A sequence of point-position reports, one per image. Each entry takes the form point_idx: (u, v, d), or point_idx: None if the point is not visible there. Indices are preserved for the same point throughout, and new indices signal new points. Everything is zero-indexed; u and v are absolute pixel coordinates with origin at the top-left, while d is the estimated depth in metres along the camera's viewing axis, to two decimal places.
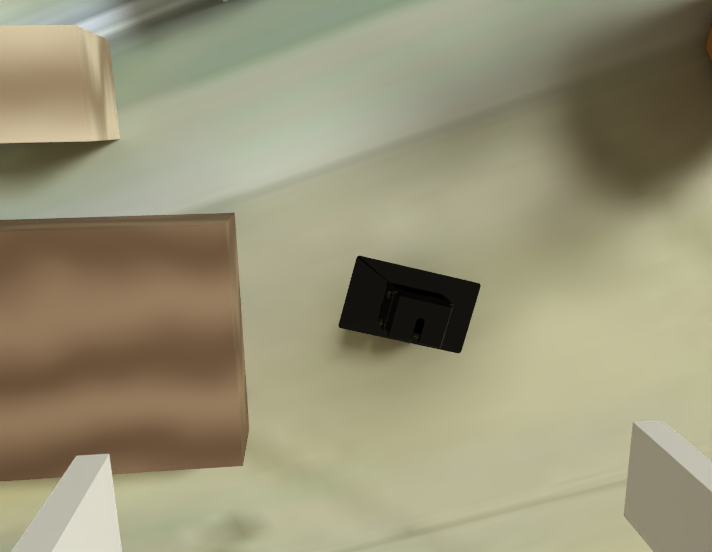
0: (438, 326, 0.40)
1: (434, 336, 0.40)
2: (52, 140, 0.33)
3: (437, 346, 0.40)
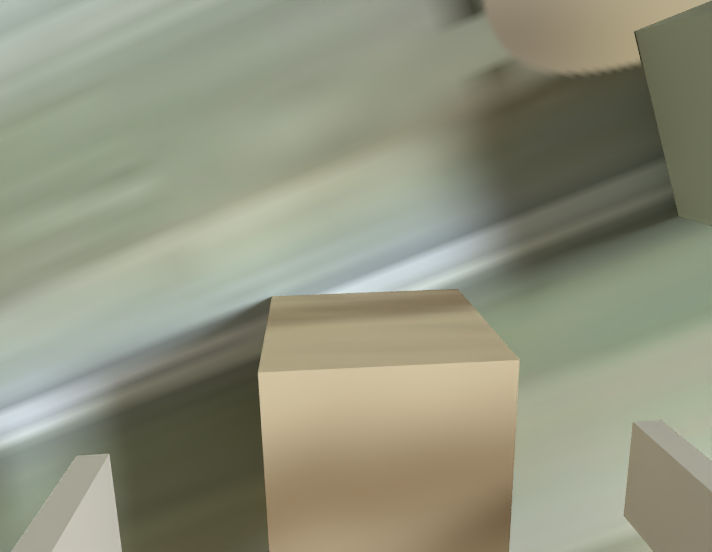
0: None
1: None
2: None
3: None
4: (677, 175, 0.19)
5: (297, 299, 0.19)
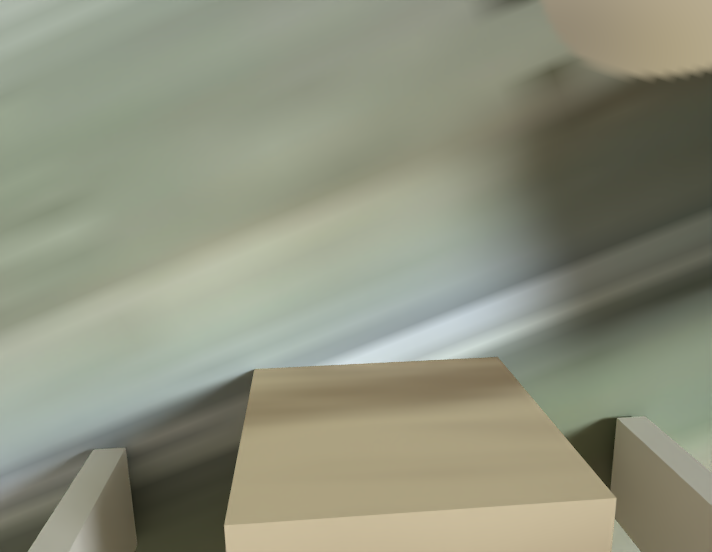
0: None
1: None
2: None
3: None
4: None
5: (287, 374, 0.14)
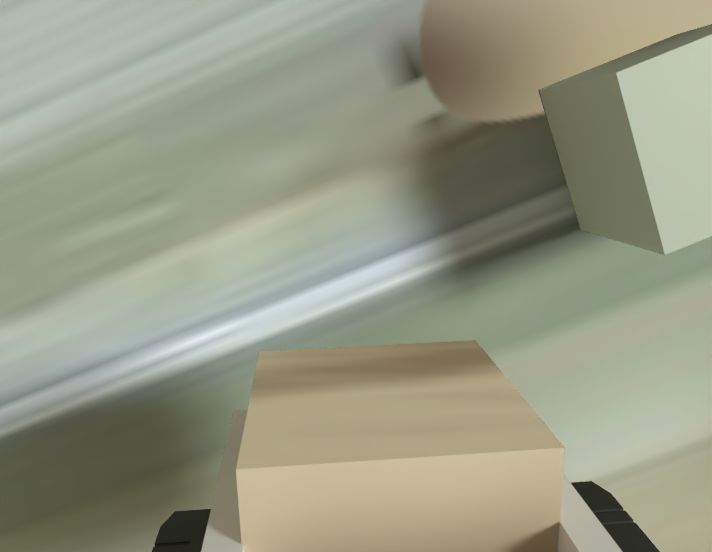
0: None
1: None
2: None
3: None
4: (576, 197, 0.25)
5: (288, 356, 0.16)
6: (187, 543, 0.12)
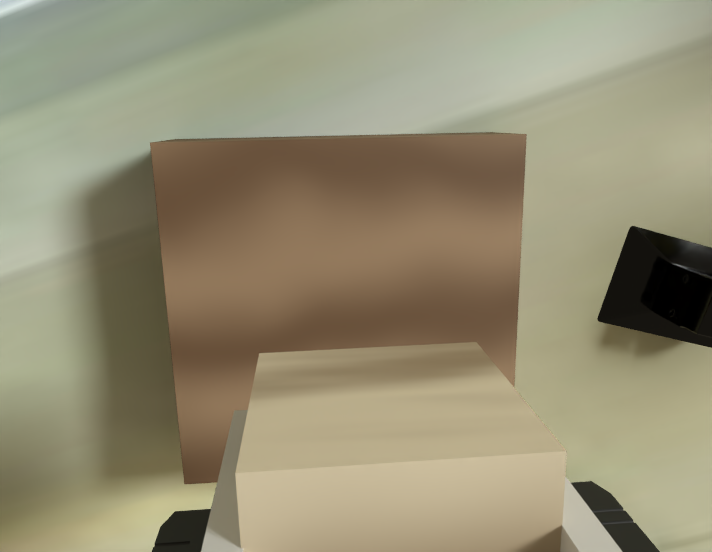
0: None
1: None
2: None
3: None
4: None
5: (288, 358, 0.16)
6: (187, 543, 0.12)
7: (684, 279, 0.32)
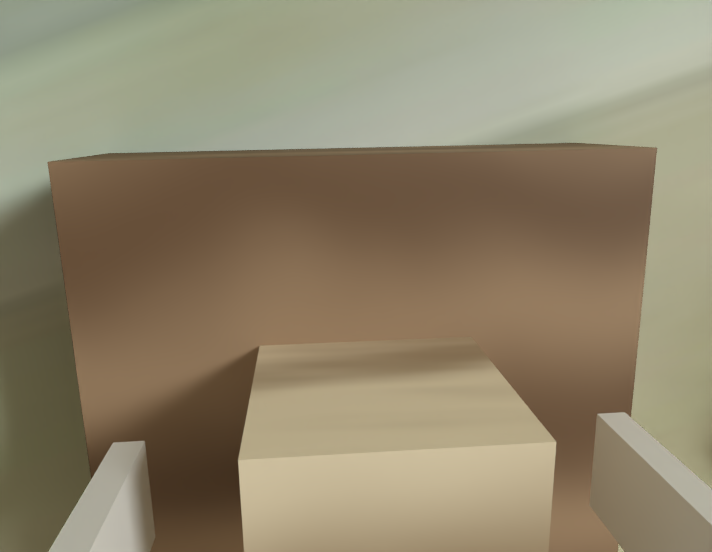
0: None
1: None
2: None
3: None
4: None
5: (287, 350, 0.17)
6: None
7: None
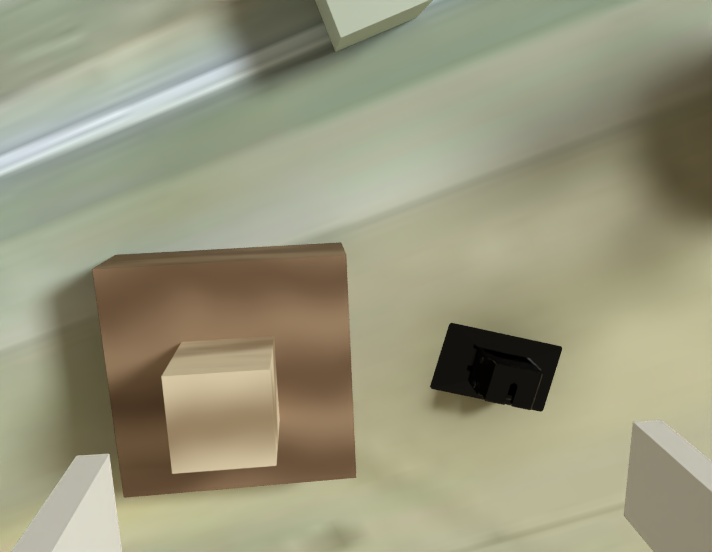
0: (529, 390, 0.44)
1: (526, 399, 0.44)
2: (243, 467, 0.36)
3: (528, 408, 0.44)
4: (327, 29, 0.41)
5: (192, 343, 0.39)
6: None
7: (481, 360, 0.45)
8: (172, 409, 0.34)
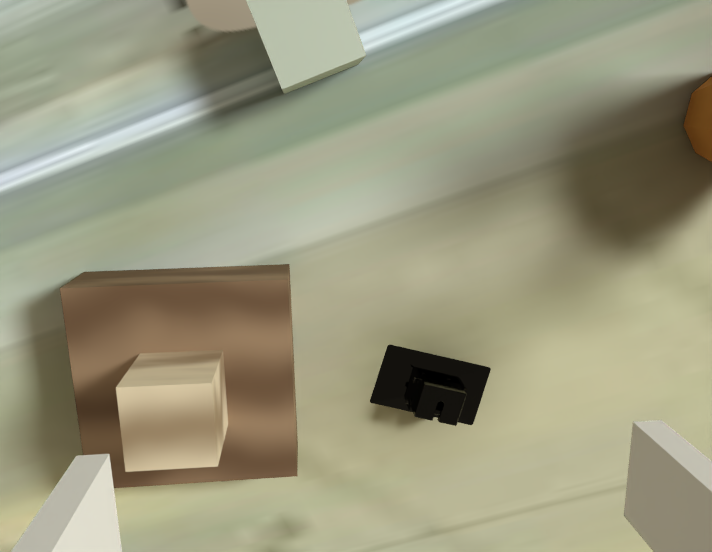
0: (455, 408, 0.49)
1: (451, 416, 0.49)
2: (188, 467, 0.40)
3: (453, 424, 0.49)
4: None
5: (149, 355, 0.44)
6: None
7: (413, 380, 0.50)
8: (125, 416, 0.39)
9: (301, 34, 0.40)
